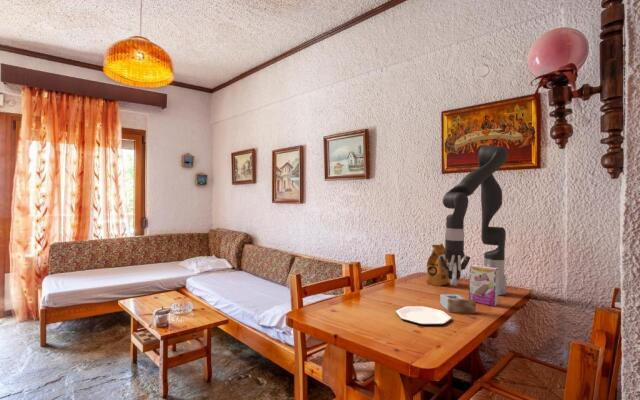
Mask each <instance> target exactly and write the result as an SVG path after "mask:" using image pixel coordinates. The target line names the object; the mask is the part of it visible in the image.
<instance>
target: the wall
mask: <svg viewBox="0 0 640 400" xmlns="http://www.w3.org/2000/svg"><path fill="white" fill-rule="evenodd" d="M476 306H477V303H476V300H474V299H469V298H464V299H448V310H447V312H448V313H467V314H468V313H473V314H474V313H476V312H477V310H476V309H477V307H476Z"/></svg>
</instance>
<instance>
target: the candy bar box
mask: <svg viewBox="0 0 640 400" xmlns="http://www.w3.org/2000/svg"><path fill="white" fill-rule="evenodd" d="M498 277H499V269H498V268H492V267H485V266H484V265H479V264H471V265H470V266H469V291H468V293H469V294H468V295H469V296H468V299H474V300H476V304H481V305H487V306H489V307H490V306H491V307H496V306H498V305H499V295H498Z"/></svg>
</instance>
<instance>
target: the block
mask: <svg viewBox="0 0 640 400" xmlns="http://www.w3.org/2000/svg"><path fill="white" fill-rule="evenodd" d="M439 296H440V297H439V299H440V300H439V302H440V303H439V304H440V305H441V306H442V307H443V309H445V310H446V311H448V299H465V297H463V296H461V295H460V294H449V293H448V294H443V293H442V294H440V295H439Z"/></svg>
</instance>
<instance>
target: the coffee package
mask: <svg viewBox="0 0 640 400" xmlns="http://www.w3.org/2000/svg"><path fill="white" fill-rule="evenodd" d="M431 247H432V248H433V249H432V252H431V254H430V255H429V257H428V259H427V261H426V276H425V277H426V284H428V285H431V286H435V287H442V286H443V285H444V286H445V285H447V284H448V283H449V278H448V277H447V269H445V268H443V266H442V264H441V262H440V260H439V258H438V256H439V255H440V256H441V255H443V254H444V252H445V245H444V244H443V243H442V242H441V243H439V244H432V245H431ZM445 263H446V265H447V258H446V257H445Z"/></svg>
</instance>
